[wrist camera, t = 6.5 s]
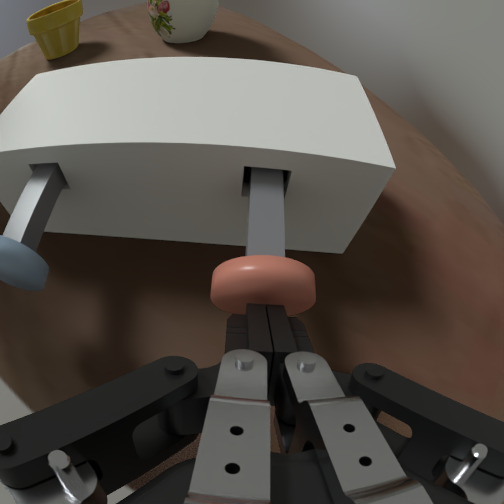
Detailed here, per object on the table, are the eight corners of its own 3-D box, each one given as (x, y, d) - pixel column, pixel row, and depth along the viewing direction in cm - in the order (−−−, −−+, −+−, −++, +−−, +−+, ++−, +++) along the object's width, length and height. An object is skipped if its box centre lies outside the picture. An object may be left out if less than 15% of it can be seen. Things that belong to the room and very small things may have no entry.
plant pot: (96, 44, 39) (89, -3, 31) (44, 69, 35) (31, 21, 27) (78, 36, 42) (71, -4, 34) (32, 59, 38) (22, 18, 30)
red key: (302, 319, 15) (329, 283, 11) (211, 314, 15) (208, 275, 11) (296, 187, 19) (312, 133, 15) (225, 180, 19) (228, 124, 15)
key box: (342, 253, 22) (395, 168, 14) (22, 230, 21) (-30, 156, 13) (328, 158, 27) (357, 76, 19) (63, 147, 26) (36, 74, 18)
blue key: (57, 295, 14) (16, 256, 10) (3, 285, 14) (-38, 248, 10) (98, 176, 18) (80, 125, 15) (48, 177, 18) (25, 131, 14)
